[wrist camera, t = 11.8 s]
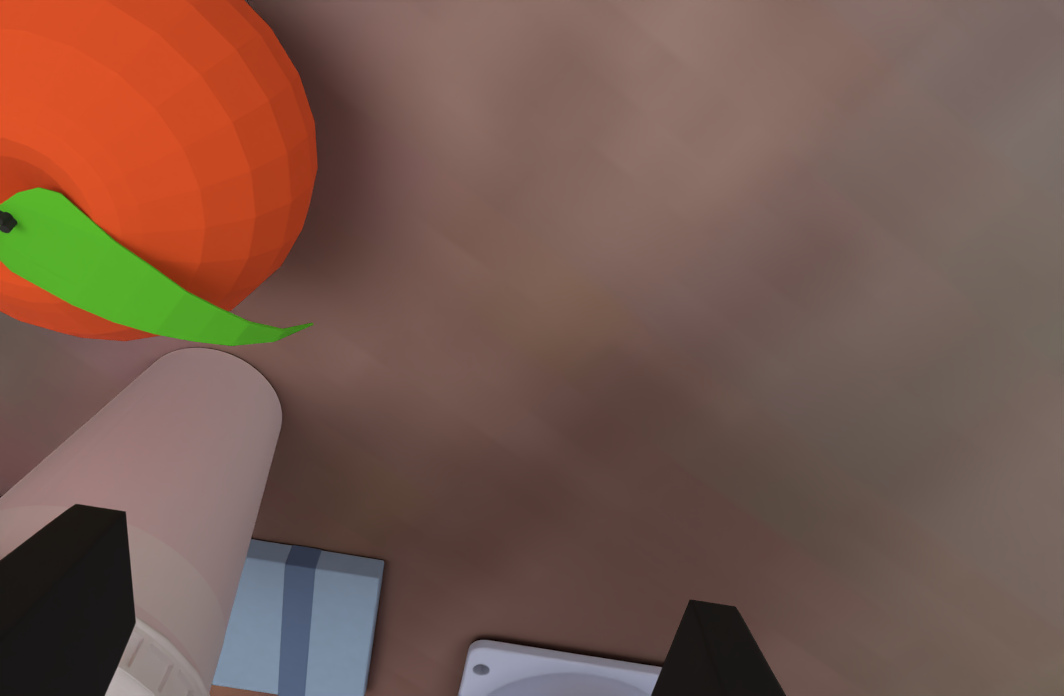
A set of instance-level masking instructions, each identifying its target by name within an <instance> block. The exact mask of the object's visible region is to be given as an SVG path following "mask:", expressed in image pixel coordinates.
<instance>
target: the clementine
mask: <svg viewBox="0 0 1064 696" xmlns="http://www.w3.org/2000/svg"><path fill="white" fill-rule="evenodd" d="M317 168H318V165H317V150H316V134H315V121H314V118H313V115H312V112H311V109H310V106H309V103H308V100H307V97H306V94H305V91H304V88H303V85H302V82H301V79H300V76H299V73H298V72H297V70H296V68H295V67H294V65H293V63H292V62H291V60H290V58H289V57H288V55H287V54H286V52H285V50H284V49H283V47H282V45H281V44H280V42H279V40H278V39H277V37H276V36H275V34H274V32H273V31H272V29H271V27H270V26H269V25H268V24H267V23H266V22H265V21H264V20H263V19H262V18H261V17H260V16H259V15H258V14H257V13H256V12H255V11H254V10H253V9H252V8H251V7H250V6H249V5H248V4H247V3H246V2H245V1H244V0H0V311H1V312H3V313H5V314H7V315H9V316H11V317H13V318H15V319H17V320H19V321H22V322H26V323H29V324H33V325H36V326H40V327H43V328H47V329H50V330H53V331H57V332H61V333H65V334H69V335H73V336H77V337H81V338H92V339H105V340H118V341H129V340H135V339H142V338H148V337H154V336H160V335H162V336H167V337H172V338H178V339H183V340H188V341H194V342H202V343H211V344H219V345H228V346H236V345H246V344H256V343H266V342H275V341H277V340H280V339H282V338H284V337H286V336H289V335H291V334H293V333H296V332H298V331H300V330H302V329H305V328H307V327H309V326H312V325H314V324H313V323H308V324H304V325H299V326H294V327H289V328H284V329H282V328H277V327H273V326H268V325H264V324H259V323H255V322H250V321H248V320H245V319H243V318H241V317H239V316H237V315H235V314H232V313H230V312H228V311H231V310H232V309H233V308H235V307H236V306H237V305H238V304H239V303H240V302H241V301H242V300H244V299H245V298H246V297H247V296H248V295H249V294H250V293H251V292H253V291H254V290H255V289H256V288H257V287H258V286H259V285H260V284H261V283H263V282H264V281H265V280H266V279H267V278H268V277H269V276H270V275H271V274H272V273H274V272H275V271H276V270H277V269H278V268H279V267H280V266H281V265H282V264H283V262H284V260H285V258H286V257H287V255H288V253H289V251H290V250H291V248H292V246H293V245H294V243H295V241H296V239H297V238H298V236H299V234H300V232H301V231H302V229H303V225H304V222H305V219H306V216H307V212H308V209H309V205H310V200H311V196H312V191H313V187H314V182H315V177H316V173H317Z"/></svg>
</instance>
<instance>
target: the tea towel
mask: <svg viewBox="0 0 1064 696" xmlns="http://www.w3.org/2000/svg"><path fill="white" fill-rule="evenodd" d="M383 569H384V561H383V560H378V559H372V558H365V557H359V556H353V555H347V554H341V553H335V552H328V551H322V550H321V549H315V548H309V547H303V546H297V545H292V546H291V545H285V544H279V543H273V542H267V541H260V540H254V539H251V541H250V545H249V548H248V552H247V556H246V559H245V563H244V567H243V571H242V574H241V578H240V582H239V585H238V589H237V593H236V597H235V600H234V604H233V608H232V611H231V615H230V619H229V623H228V626H227V630H226V634H225V638H224V644H223V647H222V651H221V654H220V658H219V661H218V664H217V668H216V671H215V675H214V678H213V682H212V685H218V686H225V687H232V688H238V689H245V690H252V691H258V692H265V693H272V694H278V696H365V693H366V688H367V682H368V675H369V668H370V661H371V654H372V647H373V640H374V633H375V626H376V619H377V612H378V605H379V598H380V590H381V583H382V576H383Z"/></svg>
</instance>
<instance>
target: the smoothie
mask: <svg viewBox="0 0 1064 696" xmlns="http://www.w3.org/2000/svg"><path fill="white" fill-rule="evenodd" d="M281 425H282V409H281V405H280V402H279V399H278V397H277V394H276V392H275V391H274V389H273V387H272V386H271V385H270V383H269V382H268V381H267V380H266V378H265V377H264V376H263V375H262V374H261V373H260V372H259V371H257V370H256V369H255V368H254V367H252V366H251V365H250V364H248V363H246V362H245V361H243V360H241V359H239V358H237V357H235V356H233V355H231V354H228V353H225V352H222V351H218V350H214V349H208V348H185V349H180V350H176V351H173V352H170V353H168V354H166V355H164V356H162V357H161V358H159V359H158V360H157V361H155V362H154V363H153V364H152V365H151V366H150V367H149V368H147V369H146V370H145V371H144V372H143V373H142V374H141V375H139V376H138V377H137V378H136V379H135V380H134V381H133V382H132V383H130V384H129V385H128V386H127V387H126V388H125V389H124V390H122V391H121V392H120V393H119V394H118V395H117V396H116V397H114V398H113V399H112V400H111V401H110V402H109V403H108V404H107V405H105V406H104V407H103V408H102V409H101V410H100V411H99V412H97V413H96V414H95V415H94V416H93V417H92V418H91V419H89V420H88V421H87V422H86V423H85V424H84V425H83V426H82V427H80V428H79V429H78V430H77V431H76V432H75V433H74V434H72V435H71V436H70V437H69V438H68V439H67V440H66V441H64V442H63V443H62V444H61V445H60V446H59V447H58V448H56V449H55V450H54V451H53V452H52V453H51V454H50V455H49V456H47V457H46V458H45V459H44V460H43V461H42V462H41V463H39V464H38V465H37V466H36V467H35V468H34V469H33V470H31V471H30V472H29V473H28V474H27V475H26V476H25V477H24V478H22V479H21V480H20V481H19V482H18V483H17V484H16V485H14V486H13V487H12V488H11V489H10V490H9V491H8V492H6V493H5V494H4V495H3V496H2V497H1V498H0V560H1V559H2V558H4V557H5V556H6V555H8V554H9V553H10V552H12V551H13V550H14V549H16V548H17V547H18V546H19V545H21V544H22V543H23V542H25V541H26V540H27V539H29V538H30V537H31V536H33V535H34V534H35V533H37V532H38V531H39V530H40V529H42V528H43V527H44V526H46V525H47V524H48V523H50V522H51V521H52V520H54V519H55V518H56V517H58V516H59V515H60V514H62V513H63V512H64V511H66V510H67V509H69V508H70V507H72V506H73V505H75V504H81V505H88V506H94V507H101V508H107V509H113V510H120V511H126V519H127V530H128V541H129V552H130V563H131V574H132V585H133V596H134V607H135V617H136V624H135V626H134V629H133V631H132V634H131V636H130V638H129V641H128V643H127V646H126V648H125V650H124V653H123V655H122V658H121V660H120V662H119V665H118V667H117V669H116V672H115V674H114V676H113V678H112V681H111V683H110V685H109V687H108V690H107V692H106V694H105V696H210V694H209V692H210V689H211V685H212V682H213V678H214V675H215V671H216V668H217V664H218V661H219V658H220V654H221V651H222V647H223V644H224V638H225V634H226V630H227V626H228V623H229V619H230V615H231V611H232V608H233V604H234V600H235V597H236V593H237V589H238V585H239V582H240V578H241V574H242V571H243V567H244V563H245V559H246V556H247V552H248V548H249V545H250V541H251V537H252V533H253V530H254V526H255V522H256V519H257V515H258V511H259V507H260V504H261V500H262V496H263V493H264V489H265V485H266V481H267V478H268V474H269V470H270V467H271V463H272V459H273V456H274V452H275V448H276V444H277V441H278V437H279V433H280V430H281Z"/></svg>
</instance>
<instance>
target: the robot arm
mask: <svg viewBox="0 0 1064 696" xmlns="http://www.w3.org/2000/svg"><path fill="white" fill-rule="evenodd" d="M135 624H136V617H135V607H134V596H133V585H132V574H131V563H130V552H129V541H128V530H127V519H126V511H120V510H113V509H107V508H101V507H94V506H88V505H81V504H75V505H73V506H72V507H70V508H69V509H67V510H66V511H64V512H63V513H62V514H60V515H59V516H58V517H56V518H55V519H54V520H52V521H51V522H50V523H48V524H47V525H46V526H44V527H43V528H42V529H40V530H39V531H38V532H37V533H35V534H34V535H33V536H31V537H30V538H29V539H27V540H26V541H25V542H23V543H22V544H21V545H19V546H18V547H17V548H16V549H14V550H13V551H12V552H10V553H9V554H8V555H6V556H5V557H4V558H2V559H1V560H0V696H105V694H106V692H107V690H108V687H109V685H110V683H111V681H112V678H113V676H114V674H115V672H116V669H117V667H118V665H119V662H120V660H121V658H122V655H123V653H124V650H125V648H126V646H127V643H128V641H129V638H130V636H131V634H132V631H133V629H134V626H135ZM481 664H482V665H481ZM458 696H786V695H785V693H784V691H783V689H782V688H781V686H780V684H779V682H778V681H777V679H776V677H775V675H774V674H773V672H772V670H771V668H770V666H769V665H768V663H767V661H766V659H765V657H764V656H763V654H762V652H761V650H760V648H759V647H758V645H757V643H756V641H755V639H754V638H753V636H752V634H751V632H750V630H749V629H748V627H747V625H746V623H745V621H744V619H743V618H742V616H741V614H740V613H739V611H738V610H737V608H736V607H735V606H728V605H722V604H715V603H709V602H703V601H696V600H689V603H688V605H687V608H686V610H685V613H684V615H683V618H682V620H681V622H680V625H679V627H678V630H677V632H676V635H675V637H674V640H673V642H672V645H671V647H670V650H669V652H668V655H667V657H666V659H665V662H664V664H663V667H658V666H651V665H645V664H639V663H632V662H626V661H619V660H613V659H607V658H600V657H594V656H587V655H581V654H575V653H568V652H562V651H555V650H549V649H543V648H536V647H530V646H523V645H517V644H511V643H504V642H498V641H492V640H478V641H475V642H473V643H472V644H471V645H470V647H469V649H468V654H467V658H466V662H465V666H464V671H463V675H462V679H461V684H460V688H459V692H458Z"/></svg>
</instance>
